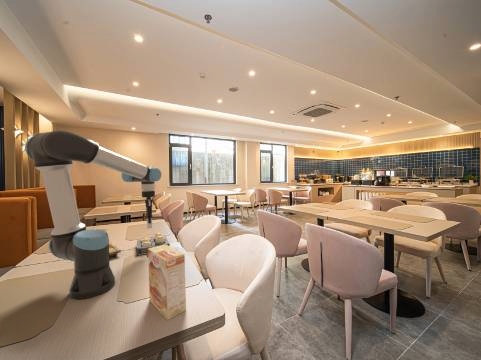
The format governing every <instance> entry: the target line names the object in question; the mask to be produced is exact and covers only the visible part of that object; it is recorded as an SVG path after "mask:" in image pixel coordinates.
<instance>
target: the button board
mask: <svg viewBox="0 0 481 360" xmlns="http://www.w3.org/2000/svg"><path fill="white" fill-rule="evenodd" d="M163 236H164V235H163ZM149 239H150V242H151V246H146V247H142V243H141V240H142V239H138V240H136V249H137V251H136V252H137V256H140V255H143V254H144V253H146V254H147V253H148V249H149V248H152V247H156V246H160V245H164V244H166V245H168V246H170V245H171V244H170V242H169V240H168V238H167V237H166V236H164V243H163V244H158V245H157V244H156V241H155V237H151V238H149ZM170 247H171V246H170ZM139 254H140V255H139ZM144 255H145V254H144Z"/></svg>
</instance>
